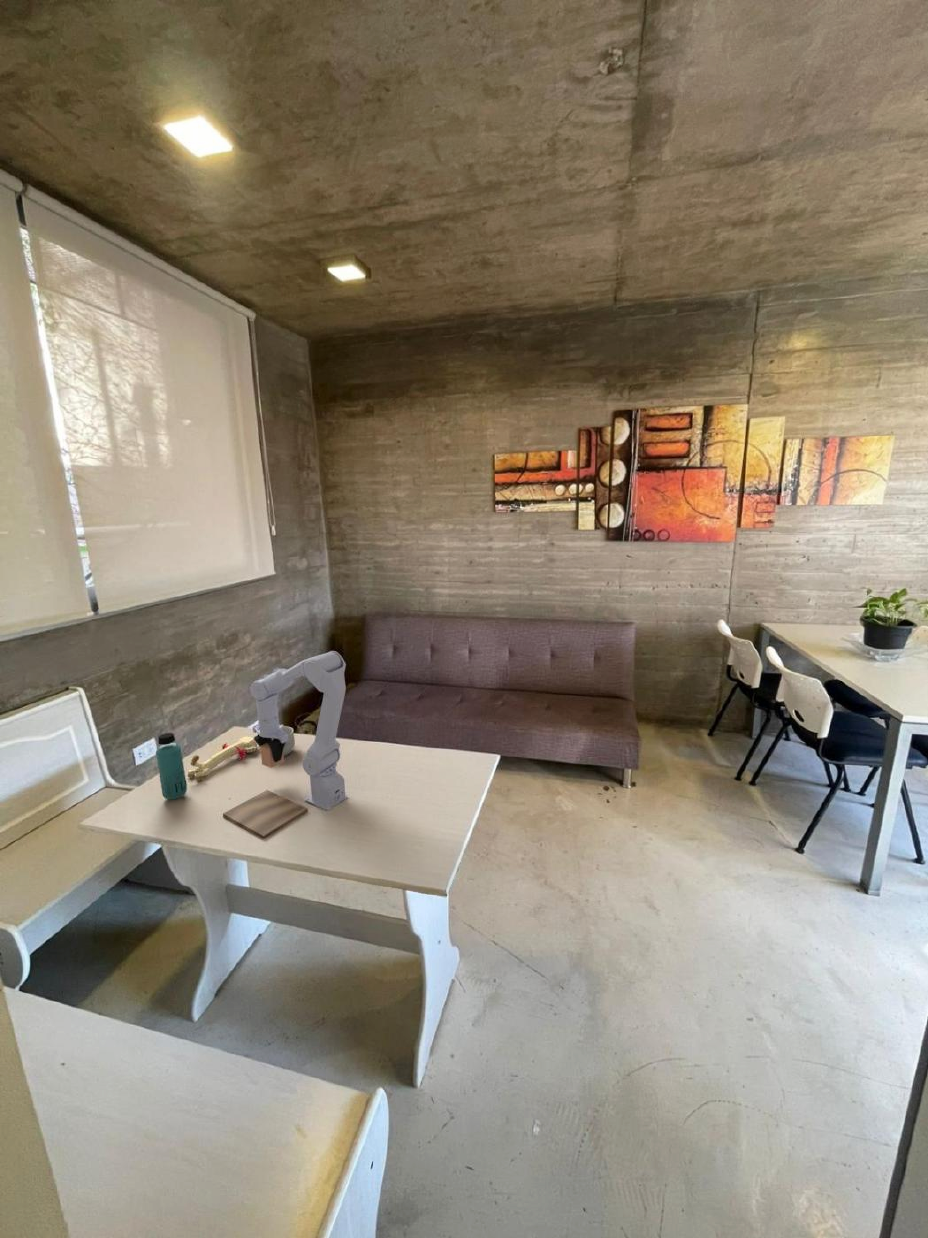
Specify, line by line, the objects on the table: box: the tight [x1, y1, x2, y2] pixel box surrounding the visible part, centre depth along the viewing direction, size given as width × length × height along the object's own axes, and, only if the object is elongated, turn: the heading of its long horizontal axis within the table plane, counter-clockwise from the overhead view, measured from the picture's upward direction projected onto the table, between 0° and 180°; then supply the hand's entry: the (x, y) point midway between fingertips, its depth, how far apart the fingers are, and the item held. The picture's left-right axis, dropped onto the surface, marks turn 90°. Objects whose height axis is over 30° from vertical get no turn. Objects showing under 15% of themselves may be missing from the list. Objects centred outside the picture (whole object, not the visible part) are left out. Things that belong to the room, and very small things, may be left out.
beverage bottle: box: [155, 732, 188, 800], centre depth 142 cm, size 6×7×20 cm
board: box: [222, 789, 309, 840], centre depth 135 cm, size 18×14×1 cm
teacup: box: [272, 724, 296, 757], centre depth 171 cm, size 14×11×8 cm
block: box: [259, 743, 285, 769], centre depth 149 cm, size 4×4×6 cm
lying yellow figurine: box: [187, 736, 259, 782], centre depth 164 cm, size 10×9×25 cm
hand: (272, 758), depth 149 cm, fingers closed on block, 4 cm apart
